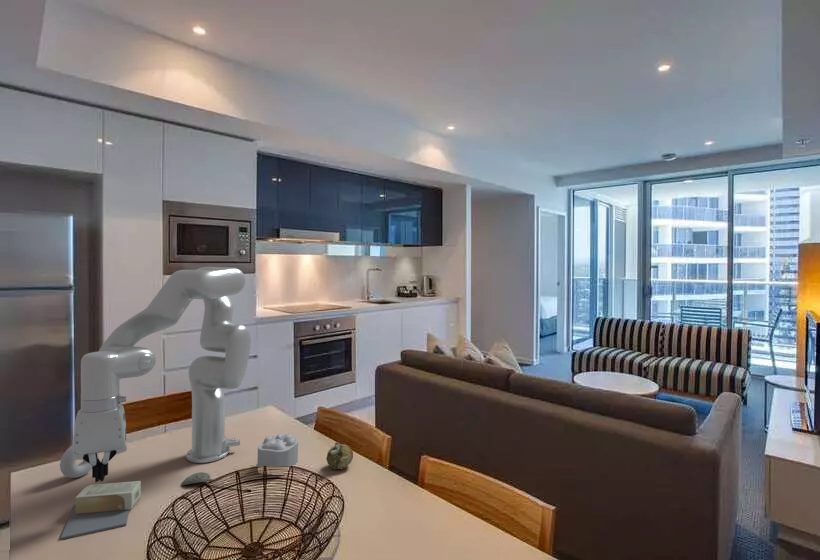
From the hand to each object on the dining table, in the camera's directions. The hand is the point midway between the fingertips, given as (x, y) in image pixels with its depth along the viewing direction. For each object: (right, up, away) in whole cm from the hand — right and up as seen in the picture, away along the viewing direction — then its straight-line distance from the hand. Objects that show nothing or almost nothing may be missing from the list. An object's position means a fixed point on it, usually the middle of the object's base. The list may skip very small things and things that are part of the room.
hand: (100, 479), depth 104 cm
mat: (0, -9, 0) cm, 9 cm away
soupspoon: (+22, -9, +15) cm, 28 cm away
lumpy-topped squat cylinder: (+35, -9, +28) cm, 46 cm away
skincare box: (+6, -6, +4) cm, 10 cm away
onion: (+53, -9, +28) cm, 61 cm away
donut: (-19, -8, +19) cm, 28 cm away
